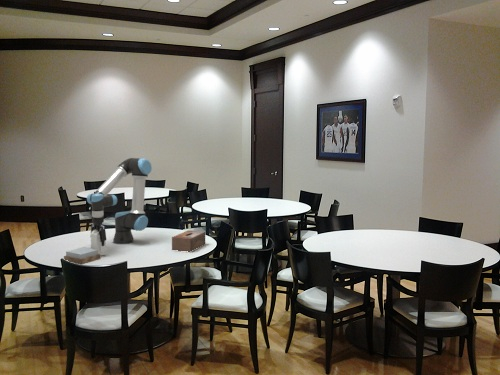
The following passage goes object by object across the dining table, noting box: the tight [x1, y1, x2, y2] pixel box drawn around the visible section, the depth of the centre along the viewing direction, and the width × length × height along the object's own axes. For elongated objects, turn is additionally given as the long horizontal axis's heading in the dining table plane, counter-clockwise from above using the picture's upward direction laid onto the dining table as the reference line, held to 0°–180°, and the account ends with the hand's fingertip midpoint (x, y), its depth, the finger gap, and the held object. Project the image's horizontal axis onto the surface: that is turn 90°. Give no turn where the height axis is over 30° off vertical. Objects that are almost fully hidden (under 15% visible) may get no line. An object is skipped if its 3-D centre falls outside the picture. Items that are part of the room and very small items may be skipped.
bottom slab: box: [63, 254, 101, 265], centre depth 303 cm, size 16×16×3 cm
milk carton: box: [90, 228, 107, 257], centre depth 314 cm, size 7×7×19 cm
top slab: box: [65, 246, 98, 259], centre depth 302 cm, size 14×14×3 cm
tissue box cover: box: [171, 229, 206, 253], centre depth 339 cm, size 26×14×10 cm, turn 161°
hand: (98, 249), depth 315 cm, fingers open, 8 cm apart
